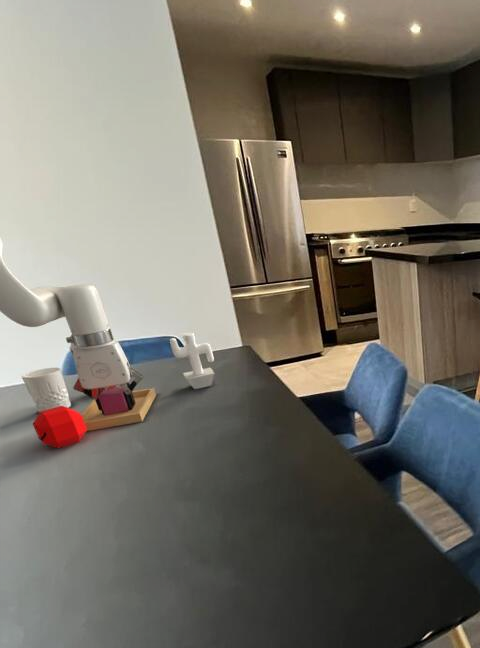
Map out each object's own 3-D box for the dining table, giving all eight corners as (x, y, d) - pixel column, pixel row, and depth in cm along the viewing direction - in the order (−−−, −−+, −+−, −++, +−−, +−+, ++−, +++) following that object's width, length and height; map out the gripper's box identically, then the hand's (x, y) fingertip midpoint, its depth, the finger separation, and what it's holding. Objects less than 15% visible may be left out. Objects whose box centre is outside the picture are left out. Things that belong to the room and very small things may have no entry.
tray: (75, 433, 112) (72, 424, 111) (98, 404, 129) (95, 397, 128) (142, 421, 116) (139, 413, 115) (156, 395, 133) (154, 387, 132)
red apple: (40, 444, 107) (26, 412, 104) (83, 431, 113) (71, 400, 110) (48, 454, 102) (34, 421, 99) (93, 440, 108) (80, 408, 105)
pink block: (104, 415, 119) (97, 396, 117) (110, 408, 124) (103, 390, 122) (128, 411, 121) (121, 392, 119) (132, 404, 125) (126, 386, 123)
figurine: (221, 384, 138) (208, 332, 132) (185, 392, 133) (169, 339, 128) (217, 378, 144) (204, 328, 138) (182, 386, 139) (167, 334, 133)
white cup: (40, 417, 123) (24, 379, 119) (34, 410, 128) (18, 373, 124) (77, 407, 128) (63, 370, 124) (70, 400, 133) (56, 365, 129)
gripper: (45, 348, 109) (74, 422, 116) (131, 337, 115) (154, 408, 122) (56, 340, 116) (83, 411, 123) (138, 330, 121) (159, 399, 128)
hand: (118, 409), depth 122 cm, fingers closed on pink block, 4 cm apart
